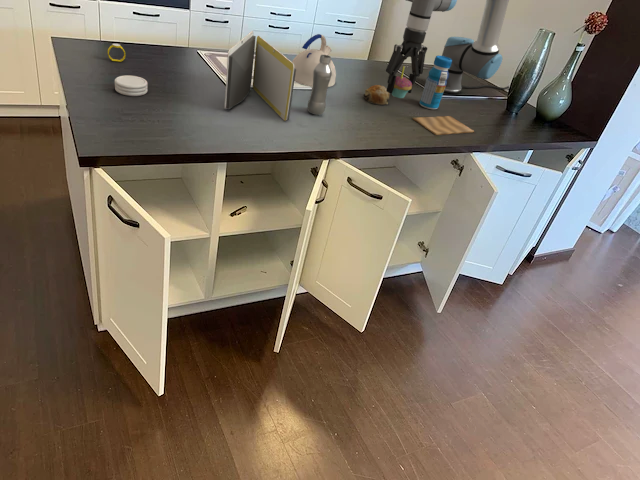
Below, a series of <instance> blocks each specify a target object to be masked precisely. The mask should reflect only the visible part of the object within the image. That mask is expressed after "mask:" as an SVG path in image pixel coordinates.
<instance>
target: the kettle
mask: <svg viewBox="0 0 640 480" xmlns="http://www.w3.org/2000/svg"><path fill="white" fill-rule="evenodd" d="M319 39H320V41H321V42H320V48H319V49H314V48H312V49H308V48H309V47H310V46H311V44H313V43H314V42H315V41H317V40H319ZM301 48H302V49H304V50H303V51H301V52H299V53H298V54H296V56H294V58H293V59H292V60H291V62H292V63H293V64H294V68H295V69H296V74H295V81H294V83H297V84H301V85H303V86H307V87H311V88H312V87H313V72H314V68H315V67H316V66H317V65H318V64H319V63H320V61H319V59H320V56H321V55H328V56H330V54H331V52H332V48H331V47H330V46H329V45H327V39H326V37H325V35H323V34H320V33H317V34H315V35H313V36H311V37H310V38H309V39H308V40H307V41H305V42H304V44H303V45H302V46H301ZM329 65H330V68H331V71H332V75H331V79H330V82H329V85H328V88H331V87H333V86H334V85H336V79H337V78H336V77H337V71H336V67H335V64H334V62H333V60H332V59H331V60H330V63H329Z"/></svg>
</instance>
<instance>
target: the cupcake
mask: <svg viewBox="0 0 640 480" xmlns="http://www.w3.org/2000/svg"><path fill="white" fill-rule="evenodd" d="M404 72H405V65H403V66H402V69H401V75H396V76H397V77H396V81H395V84H394V88H393V92H392V94H391V95H392V96H393V97H395V98H397V99H404V98H405V97H406V95H407V94H408V91H409V90H410V89H412V90H413V88H412V83H411V81H410V80H409V77H408V78H407V77H406V76H404Z"/></svg>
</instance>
